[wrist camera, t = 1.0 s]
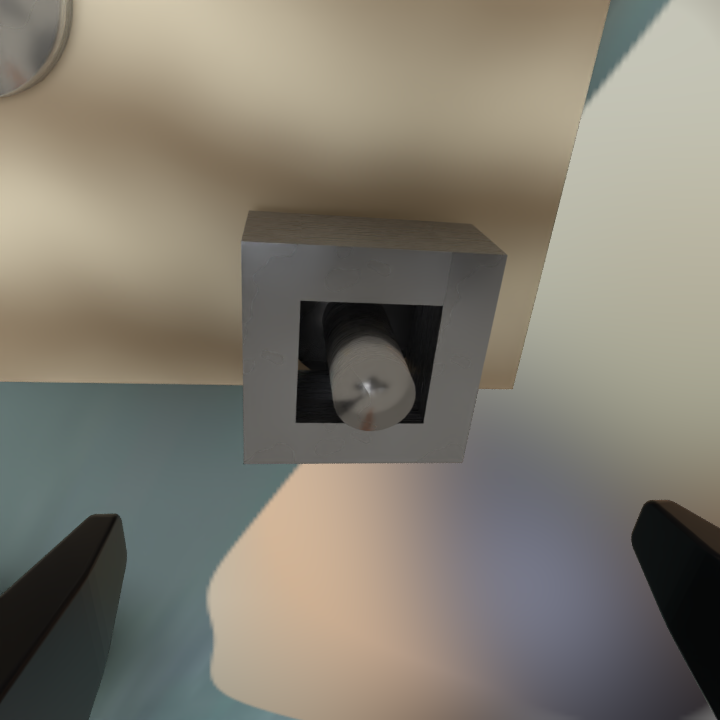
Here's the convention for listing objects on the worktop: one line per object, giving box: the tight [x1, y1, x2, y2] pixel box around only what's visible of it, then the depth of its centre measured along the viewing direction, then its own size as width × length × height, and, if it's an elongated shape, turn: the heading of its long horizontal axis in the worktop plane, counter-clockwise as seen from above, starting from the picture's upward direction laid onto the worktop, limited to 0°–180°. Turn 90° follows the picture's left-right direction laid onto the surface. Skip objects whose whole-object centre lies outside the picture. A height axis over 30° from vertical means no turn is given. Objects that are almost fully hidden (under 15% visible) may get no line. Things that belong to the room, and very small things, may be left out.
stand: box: [298, 301, 416, 431], centre depth 16 cm, size 4×4×6 cm
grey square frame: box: [241, 210, 508, 464], centre depth 16 cm, size 6×6×3 cm
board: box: [0, 0, 610, 389], centre depth 15 cm, size 15×27×1 cm, turn 85°
